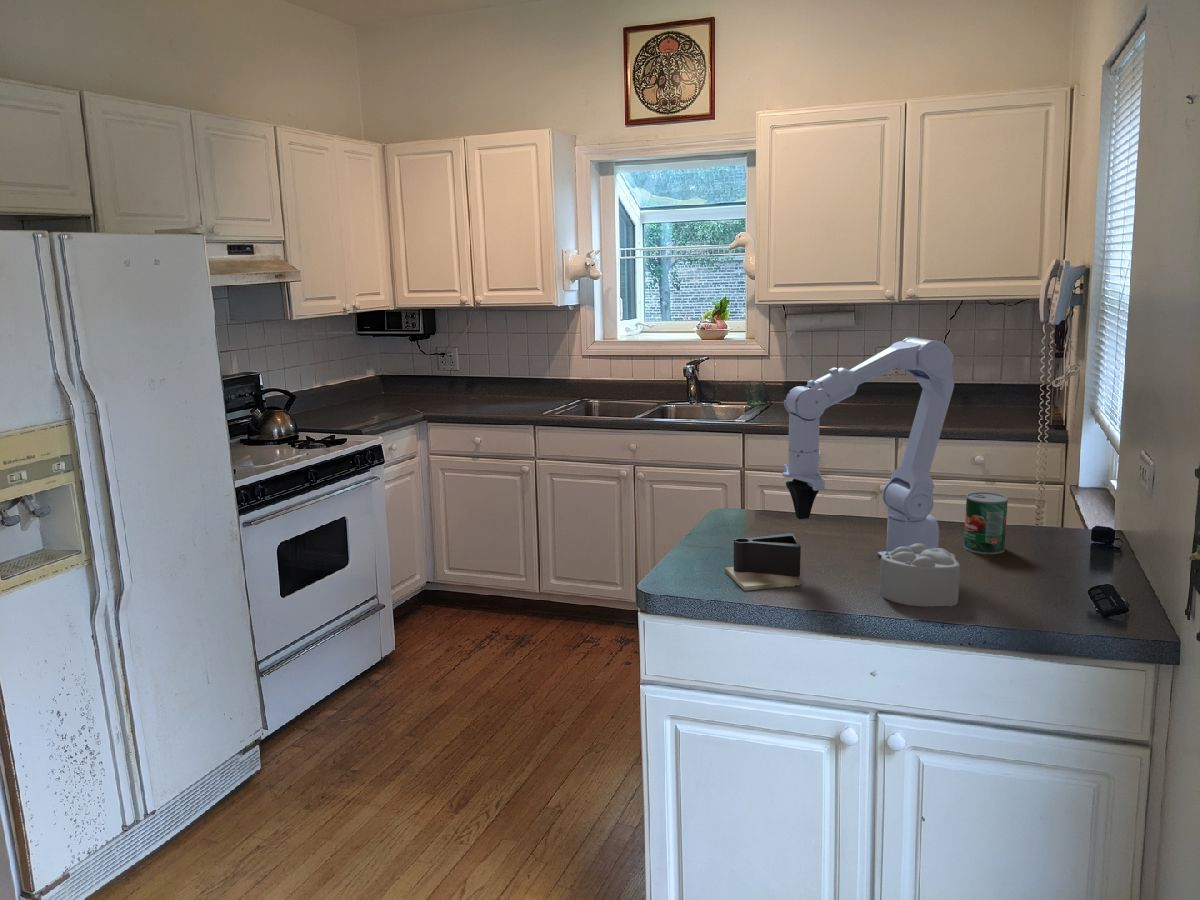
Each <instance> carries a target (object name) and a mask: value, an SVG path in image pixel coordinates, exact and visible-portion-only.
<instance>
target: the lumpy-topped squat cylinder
mask: <svg viewBox="0 0 1200 900" xmlns="http://www.w3.org/2000/svg"><path fill="white" fill-rule="evenodd" d="M956 559H957V558H956V555H955V554H954V553H952V552H951V551H950V552H949V551H948V550H946V549H945V548H941V547H938V548H932V549H928V548H927V547H926V546H925V545H924V544H920V543H916V544H913V545H910V546H909V547H904V546H901V547H897V548H896V549H894V550H893V551H890V552H887V553H885V554H883V555H882V557H881V556H880V573H879V575H880V576H879V577H880V578H879V579H880V580H879V581H880V582H879V595H880V597H882V598H883V599H886V600H888V601H891V602H894V603H898V604H902V605H907V606H915V607H928V606H930V608H932V606H933V607H934V606H949V607H953V606H952V605H954V606H956V605H955V604H957V603H959V593H960V592H959V589H960V568H961V566H960V563H959V561H957V560H956ZM934 608H935V607H934Z"/></svg>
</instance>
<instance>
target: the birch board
mask: <svg viewBox="0 0 1200 900" xmlns="http://www.w3.org/2000/svg"><path fill="white" fill-rule="evenodd" d="M724 572H725V574H726V575H728V576H729V577H730V578H731V579H732V581H734V582H735V583H736V584H737V585H738V586H739V587H740V588H741V589H742V590H743V591H745V592H746V591H755V590H764V589H766V588H767V589H775V587H777V588H785V587H784V586H787V587H795V586H794V585H797V586H801V580H800V579H798V577H793V576H783V575H773V574H763V573H753V572H736V571H734V566H727V567H724Z"/></svg>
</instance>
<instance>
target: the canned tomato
mask: <svg viewBox="0 0 1200 900" xmlns="http://www.w3.org/2000/svg"><path fill="white" fill-rule="evenodd" d="M1008 500H1009V498H1008V497H1007V496H1006V495H1003V494H1000V493H995V492H986V491H985V492H984V491H978V492H976V491H975V492H971V493H967V494H966V500H965V501H966V503H965V517H964V518H965V521H964V539H963V540H964V541H963V548H964V549H965V550H966V551H969V552H971V553H975V554H979V555H980V554H981V555H998V554H1003V553H1005V550H1006V548H1005V547H1006V531H1007V519H1008V518H1007V517H1008V516H1007V515H1008V514H1007V513H1008V502H1009V501H1008Z"/></svg>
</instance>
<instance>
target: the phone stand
mask: <svg viewBox="0 0 1200 900" xmlns="http://www.w3.org/2000/svg"><path fill="white" fill-rule="evenodd" d="M801 548H802V547H801V544H800V543H799V541H798V539H797V538H796V536H795V534H794V533H793V532H788V533H779V534H770V535H765V536H764V535H762V536H756V537H745V538H744V537H739V538H734V539H733V567H734V571H736V572H753V573H763V574H773V575H783V576H793V577H796V578H800V577H801V552H802V551H801Z"/></svg>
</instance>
